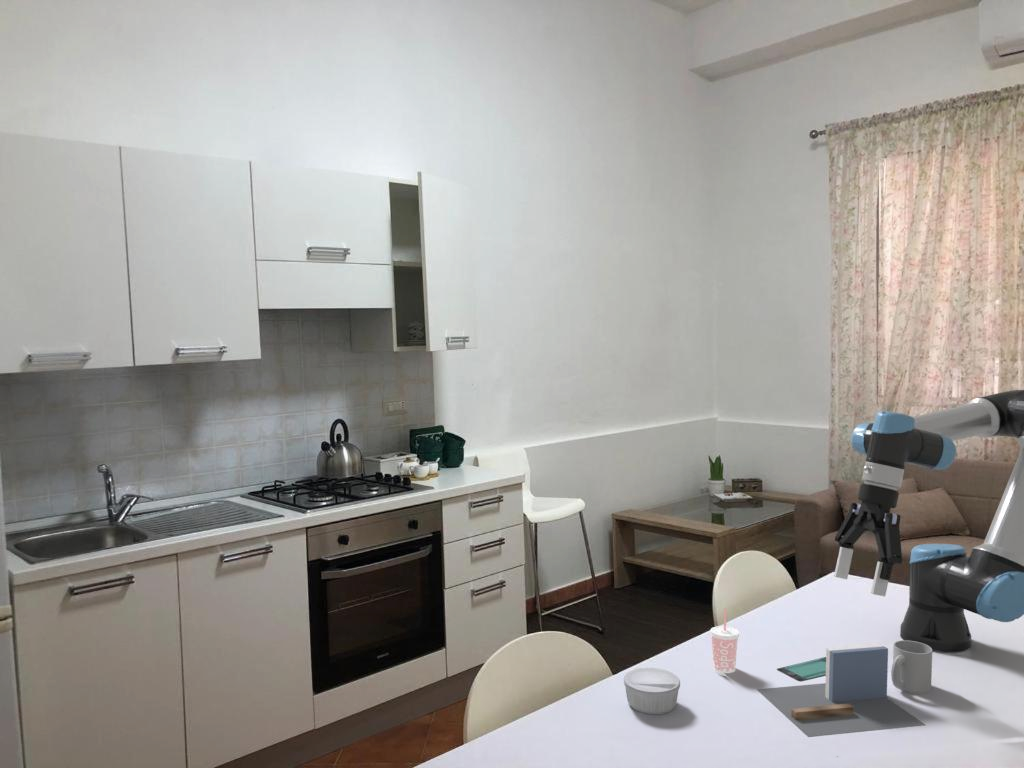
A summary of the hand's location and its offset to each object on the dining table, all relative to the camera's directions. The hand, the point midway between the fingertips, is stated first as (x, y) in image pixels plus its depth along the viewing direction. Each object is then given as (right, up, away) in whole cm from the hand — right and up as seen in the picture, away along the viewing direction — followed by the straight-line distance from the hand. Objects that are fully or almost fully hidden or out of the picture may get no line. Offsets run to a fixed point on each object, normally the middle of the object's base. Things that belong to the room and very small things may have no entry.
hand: (858, 586), depth 170 cm
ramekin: (-44, -22, -6) cm, 50 cm away
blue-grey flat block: (-2, -21, -5) cm, 22 cm away
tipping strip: (-12, -22, -12) cm, 28 cm away
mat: (-8, -22, -9) cm, 25 cm away
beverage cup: (-25, -21, +10) cm, 34 cm away
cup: (+10, -22, 0) cm, 24 cm away
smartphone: (-6, -21, +9) cm, 24 cm away
